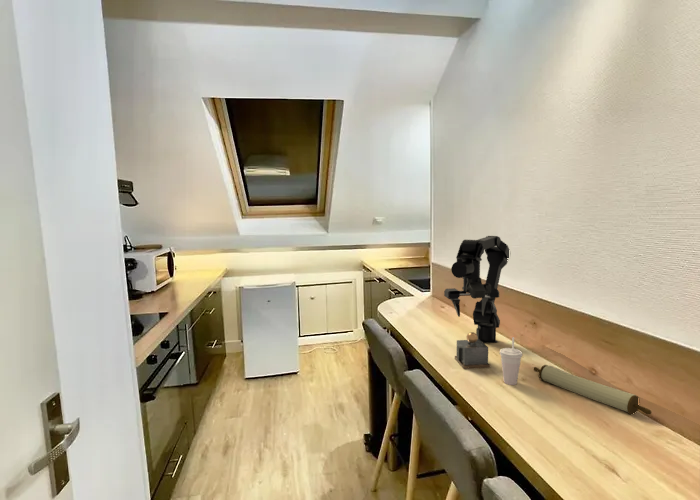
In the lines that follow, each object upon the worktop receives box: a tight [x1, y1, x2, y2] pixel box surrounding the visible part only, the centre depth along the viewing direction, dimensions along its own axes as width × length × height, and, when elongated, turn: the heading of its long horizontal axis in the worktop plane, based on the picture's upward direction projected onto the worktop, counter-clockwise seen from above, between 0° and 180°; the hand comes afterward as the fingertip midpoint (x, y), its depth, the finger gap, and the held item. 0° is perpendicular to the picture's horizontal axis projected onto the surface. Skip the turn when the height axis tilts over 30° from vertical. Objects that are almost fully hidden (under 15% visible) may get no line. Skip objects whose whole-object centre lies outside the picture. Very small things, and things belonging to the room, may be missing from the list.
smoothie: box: [499, 336, 523, 386], centre depth 122 cm, size 6×6×14 cm
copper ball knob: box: [466, 331, 478, 345], centre depth 137 cm, size 6×6×9 cm
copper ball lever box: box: [454, 339, 491, 370], centre depth 138 cm, size 9×9×7 cm
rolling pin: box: [532, 364, 652, 416], centre depth 113 cm, size 32×6×5 cm, turn 31°
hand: (471, 316), depth 149 cm, fingers open, 9 cm apart
